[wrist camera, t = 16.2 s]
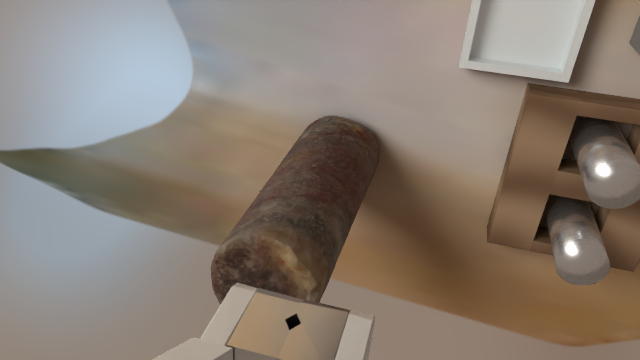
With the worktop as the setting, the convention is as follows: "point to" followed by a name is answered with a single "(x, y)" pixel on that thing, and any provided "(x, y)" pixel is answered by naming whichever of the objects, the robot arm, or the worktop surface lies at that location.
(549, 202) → the seated billet
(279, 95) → the worktop surface
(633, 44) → the grey square holed block
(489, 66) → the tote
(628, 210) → the wooden holder frame
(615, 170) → the cylinder
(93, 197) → the worktop surface
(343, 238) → the brown rounded piece
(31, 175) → the worktop surface
